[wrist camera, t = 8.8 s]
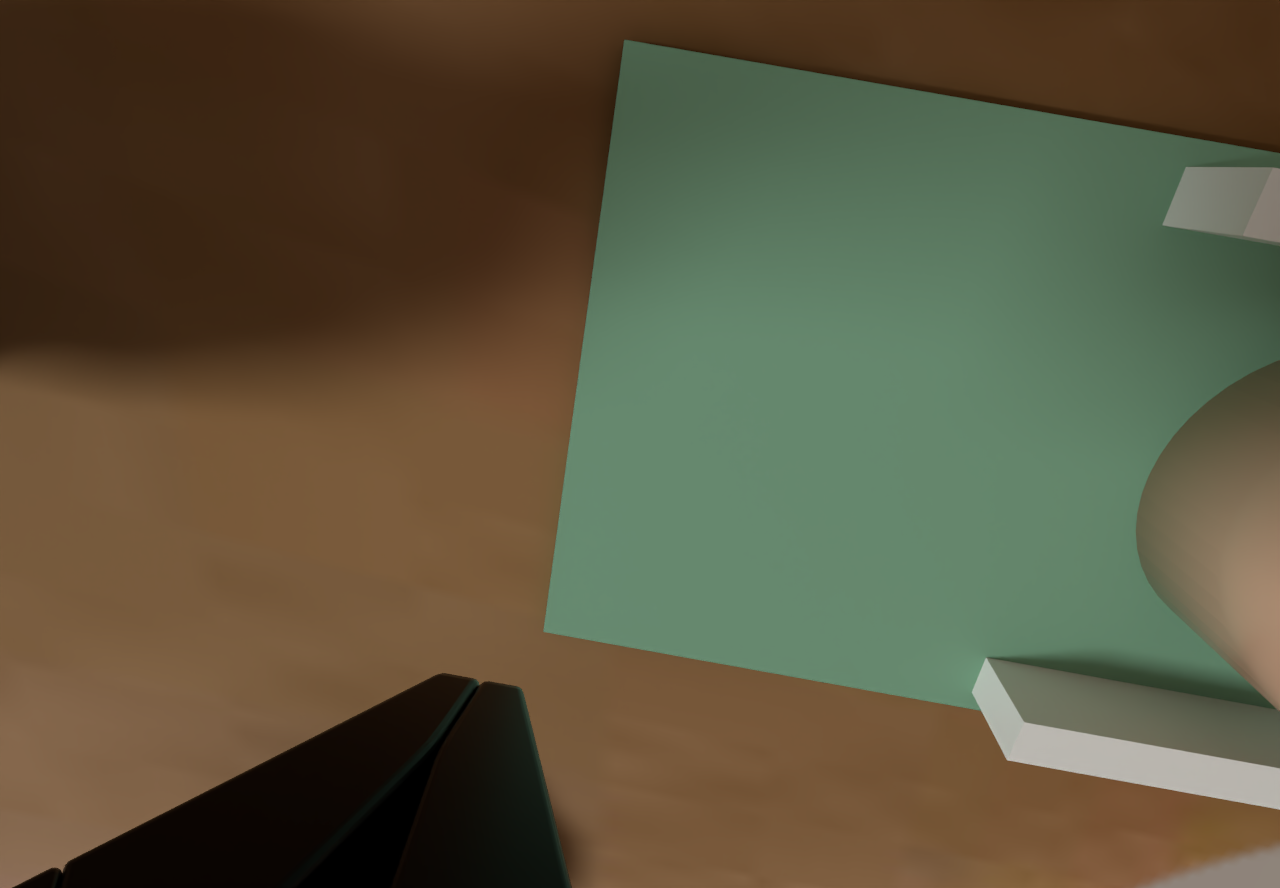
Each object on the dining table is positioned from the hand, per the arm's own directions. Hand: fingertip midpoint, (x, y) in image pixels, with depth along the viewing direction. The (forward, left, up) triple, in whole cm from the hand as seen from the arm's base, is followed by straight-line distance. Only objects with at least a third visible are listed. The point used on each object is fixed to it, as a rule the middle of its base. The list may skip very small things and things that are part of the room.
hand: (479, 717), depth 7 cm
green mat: (+8, +8, -12) cm, 17 cm away
